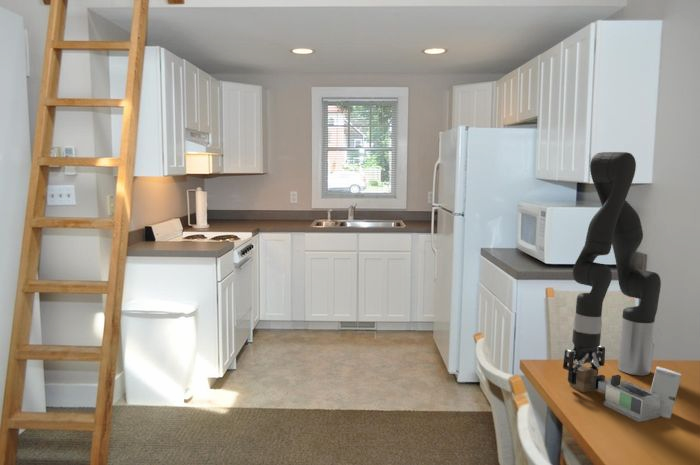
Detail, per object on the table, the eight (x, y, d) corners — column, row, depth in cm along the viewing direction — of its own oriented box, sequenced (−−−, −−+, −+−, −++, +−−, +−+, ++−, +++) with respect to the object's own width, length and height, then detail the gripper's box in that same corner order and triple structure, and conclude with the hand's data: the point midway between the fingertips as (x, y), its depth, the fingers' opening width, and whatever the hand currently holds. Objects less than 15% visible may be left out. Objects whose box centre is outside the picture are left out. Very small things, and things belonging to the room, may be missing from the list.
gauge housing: (623, 400, 154) (625, 380, 153) (659, 416, 144) (662, 395, 143) (603, 404, 150) (605, 384, 150) (639, 422, 141) (641, 400, 140)
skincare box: (645, 411, 146) (655, 368, 146) (645, 407, 150) (655, 365, 149) (671, 419, 143) (681, 375, 142) (671, 415, 147) (681, 372, 146)
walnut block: (582, 383, 165) (583, 364, 165) (595, 389, 161) (597, 370, 160) (569, 385, 163) (571, 366, 162) (583, 392, 159) (584, 372, 158)
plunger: (601, 386, 158) (602, 368, 157) (629, 399, 149) (631, 380, 149) (587, 389, 156) (588, 370, 155) (615, 403, 147) (617, 383, 146)
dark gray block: (617, 383, 149) (618, 374, 149) (620, 384, 148) (620, 375, 148) (611, 385, 148) (611, 375, 148) (613, 386, 147) (614, 377, 147)
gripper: (594, 323, 166) (589, 374, 168) (559, 327, 160) (555, 380, 162) (615, 330, 159) (610, 383, 161) (579, 335, 153) (574, 389, 155)
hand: (582, 381), depth 162 cm, fingers open, 8 cm apart
